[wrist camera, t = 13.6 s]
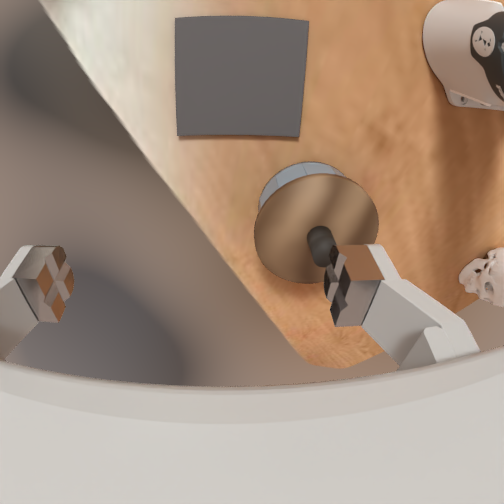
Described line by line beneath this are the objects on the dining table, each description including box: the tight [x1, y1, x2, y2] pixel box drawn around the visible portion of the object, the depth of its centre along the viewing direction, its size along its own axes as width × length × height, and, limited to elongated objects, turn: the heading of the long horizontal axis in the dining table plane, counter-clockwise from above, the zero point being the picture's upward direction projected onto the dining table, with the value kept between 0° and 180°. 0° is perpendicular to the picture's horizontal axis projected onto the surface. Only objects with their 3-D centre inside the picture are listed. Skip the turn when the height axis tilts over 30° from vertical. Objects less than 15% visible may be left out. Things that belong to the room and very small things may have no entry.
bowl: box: [258, 162, 347, 212], centre depth 42 cm, size 14×14×6 cm
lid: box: [254, 173, 379, 284], centre depth 37 cm, size 16×16×5 cm
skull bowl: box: [459, 247, 504, 307], centre depth 52 cm, size 10×14×12 cm
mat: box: [175, 16, 309, 137], centre depth 32 cm, size 15×15×1 cm
